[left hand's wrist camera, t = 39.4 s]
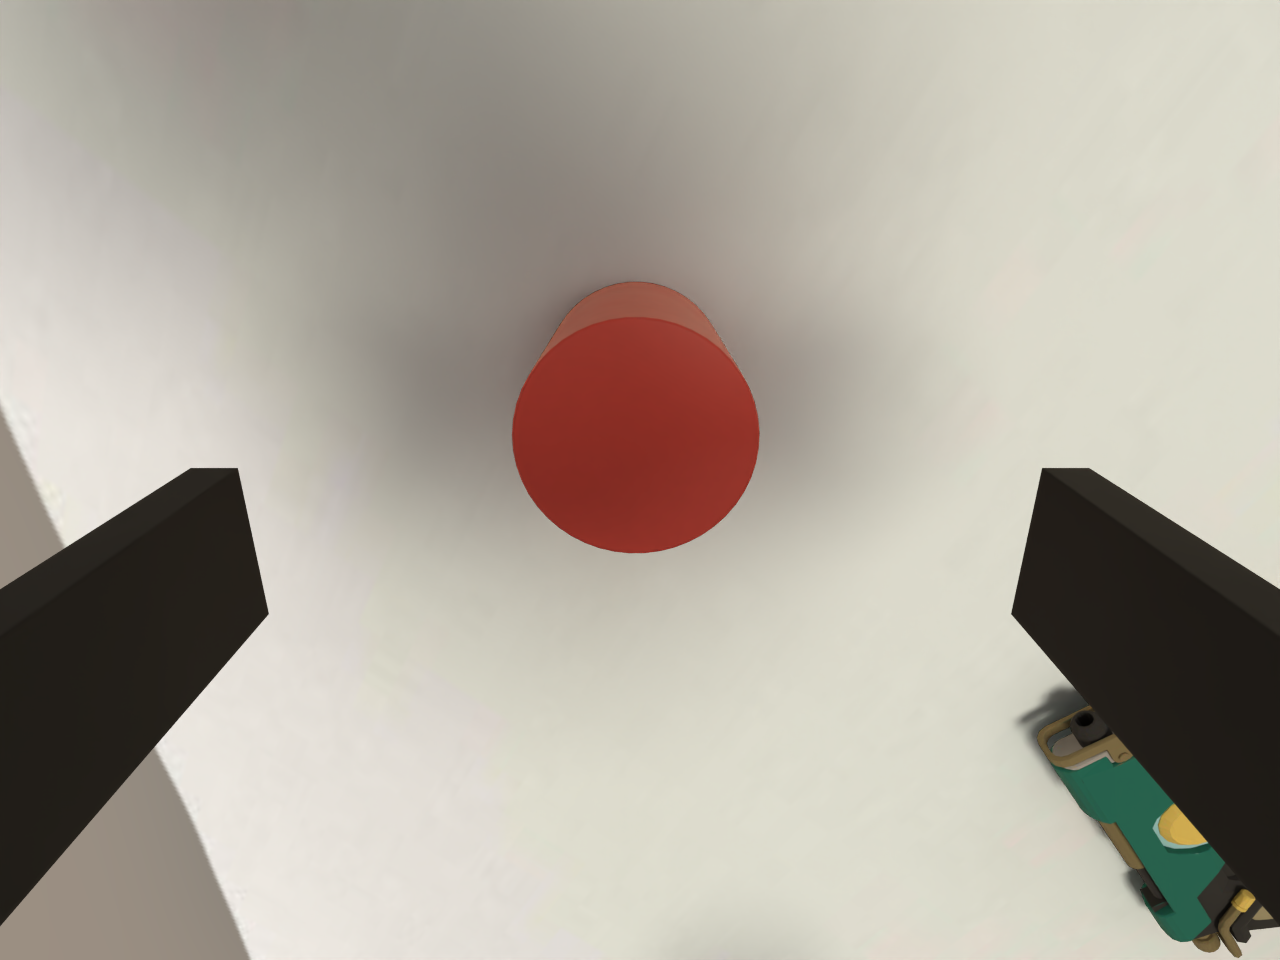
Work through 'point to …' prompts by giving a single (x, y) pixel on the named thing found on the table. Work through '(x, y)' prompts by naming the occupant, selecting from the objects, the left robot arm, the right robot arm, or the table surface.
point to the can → (635, 422)
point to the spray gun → (1153, 838)
